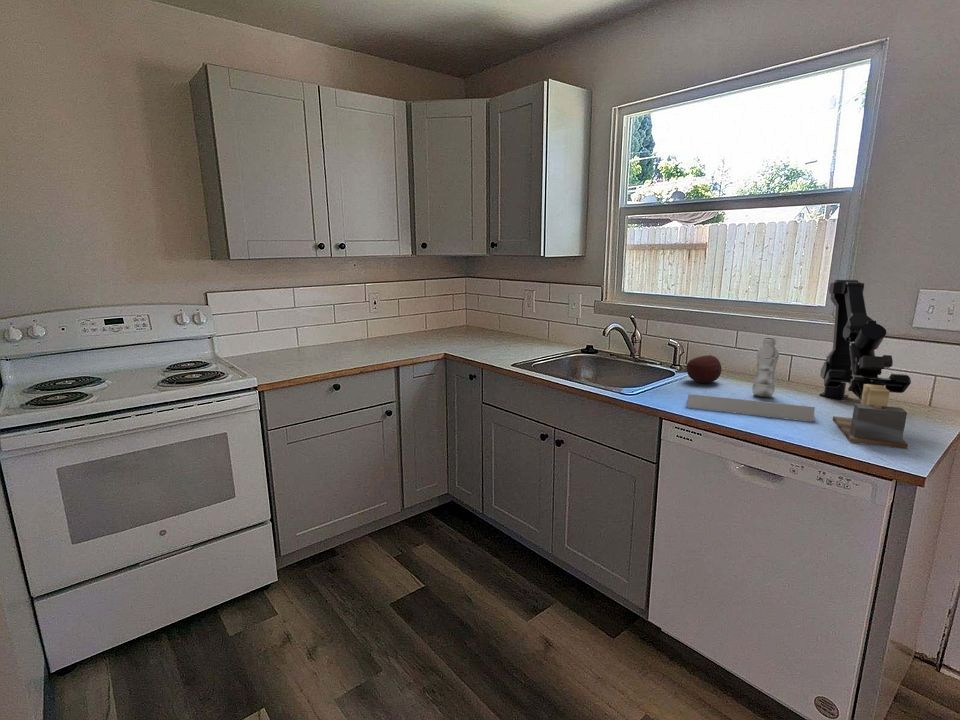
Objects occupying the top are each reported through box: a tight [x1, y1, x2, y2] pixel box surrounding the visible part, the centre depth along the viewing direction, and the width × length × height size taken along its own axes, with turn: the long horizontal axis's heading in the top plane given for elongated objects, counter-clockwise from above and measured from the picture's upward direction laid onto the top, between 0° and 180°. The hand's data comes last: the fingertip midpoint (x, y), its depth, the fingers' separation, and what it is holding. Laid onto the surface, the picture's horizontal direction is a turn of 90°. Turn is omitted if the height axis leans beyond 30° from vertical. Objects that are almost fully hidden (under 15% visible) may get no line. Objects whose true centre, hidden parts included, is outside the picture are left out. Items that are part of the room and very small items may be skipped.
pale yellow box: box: [860, 384, 891, 408], centre depth 134 cm, size 8×4×12 cm, turn 157°
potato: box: [686, 355, 722, 384], centre depth 188 cm, size 11×13×10 cm
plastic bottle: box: [751, 337, 780, 398], centre depth 169 cm, size 6×7×20 cm
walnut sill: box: [832, 403, 909, 450], centre depth 136 cm, size 18×12×9 cm, turn 157°
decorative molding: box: [686, 393, 816, 423], centre depth 158 cm, size 34×5×10 cm
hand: (868, 407), depth 138 cm, fingers closed, pressing on pale yellow box
